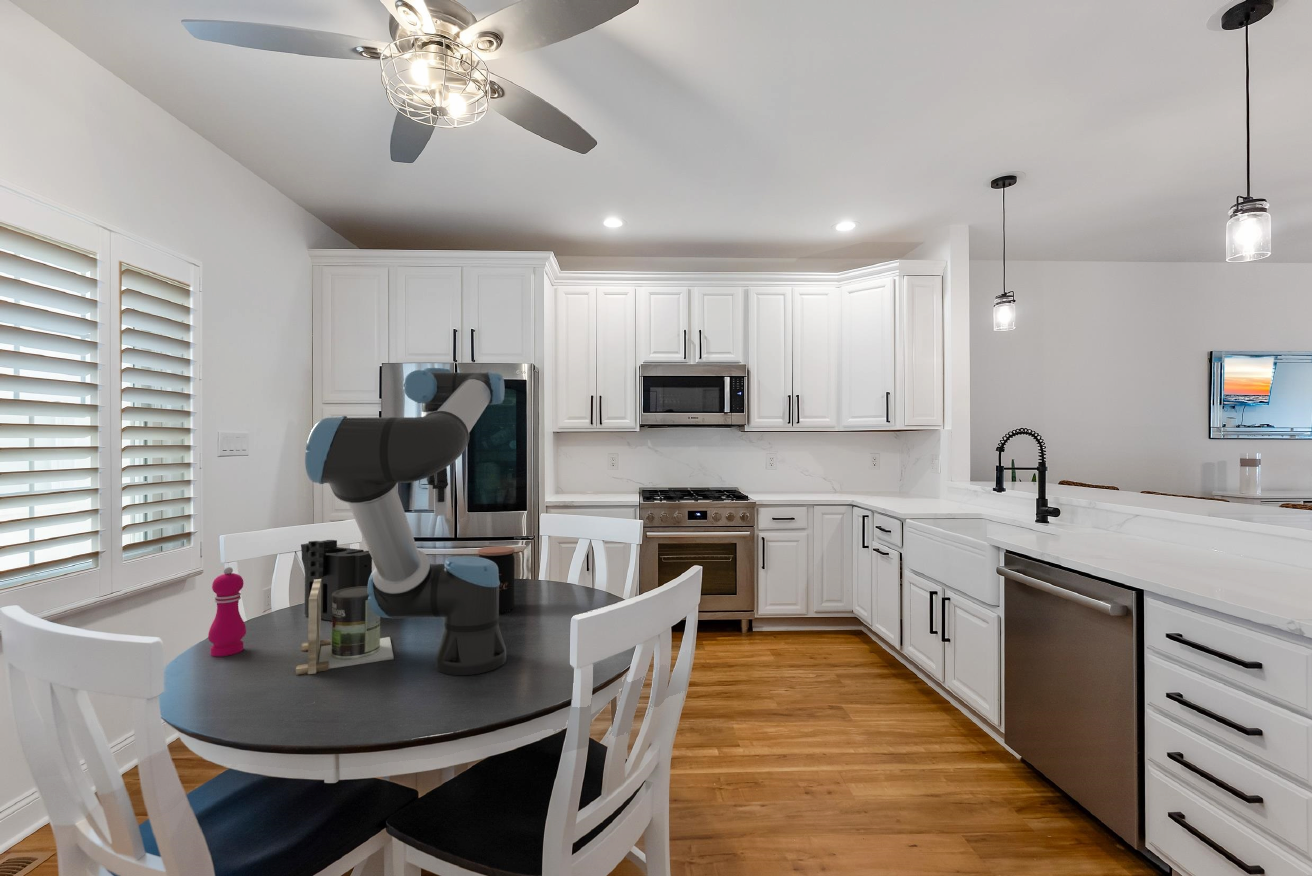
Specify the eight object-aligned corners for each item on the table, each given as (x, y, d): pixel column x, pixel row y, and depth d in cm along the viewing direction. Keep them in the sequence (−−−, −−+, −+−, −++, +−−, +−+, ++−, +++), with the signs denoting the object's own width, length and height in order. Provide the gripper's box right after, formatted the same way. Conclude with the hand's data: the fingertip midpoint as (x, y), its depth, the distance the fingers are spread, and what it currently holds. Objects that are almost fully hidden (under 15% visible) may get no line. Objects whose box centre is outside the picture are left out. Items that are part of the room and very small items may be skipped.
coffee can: (340, 663, 129) (341, 599, 129) (324, 651, 136) (325, 591, 136) (388, 651, 137) (388, 591, 137) (370, 640, 144) (371, 583, 144)
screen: (328, 671, 126) (328, 597, 126) (295, 676, 123) (296, 600, 124) (331, 643, 144) (331, 578, 144) (302, 646, 141) (303, 580, 141)
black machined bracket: (329, 607, 175) (329, 534, 175) (379, 616, 167) (380, 538, 167) (291, 618, 164) (291, 540, 164) (343, 627, 156) (343, 545, 156)
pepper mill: (252, 649, 139) (253, 565, 140) (219, 659, 133) (220, 571, 133) (234, 644, 142) (235, 562, 143) (201, 654, 136) (202, 568, 136)
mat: (393, 658, 134) (393, 656, 134) (317, 670, 127) (317, 667, 127) (389, 639, 147) (389, 636, 147) (321, 648, 140) (321, 646, 140)
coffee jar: (470, 614, 169) (470, 551, 169) (487, 604, 180) (487, 545, 180) (505, 615, 167) (505, 553, 167) (519, 605, 178) (520, 546, 178)
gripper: (460, 428, 140) (460, 517, 140) (445, 430, 162) (445, 506, 162) (427, 428, 136) (426, 518, 136) (416, 430, 159) (416, 508, 158)
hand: (436, 512), depth 149 cm, fingers open, 13 cm apart
